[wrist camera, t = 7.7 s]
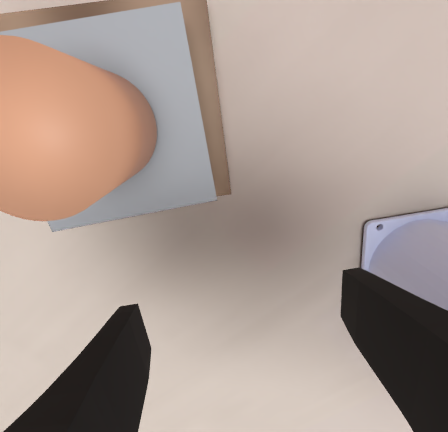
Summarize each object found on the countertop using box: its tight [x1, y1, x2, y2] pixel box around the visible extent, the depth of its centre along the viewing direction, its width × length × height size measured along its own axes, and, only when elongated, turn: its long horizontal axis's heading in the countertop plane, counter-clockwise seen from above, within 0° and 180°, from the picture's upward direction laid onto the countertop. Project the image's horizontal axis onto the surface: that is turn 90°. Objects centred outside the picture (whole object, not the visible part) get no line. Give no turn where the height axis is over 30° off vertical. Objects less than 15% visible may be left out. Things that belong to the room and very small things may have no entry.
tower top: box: [0, 2, 217, 232], centre depth 13 cm, size 8×8×3 cm
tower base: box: [0, 0, 231, 196], centre depth 16 cm, size 10×10×3 cm
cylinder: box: [0, 35, 157, 221], centre depth 9 cm, size 4×4×5 cm
